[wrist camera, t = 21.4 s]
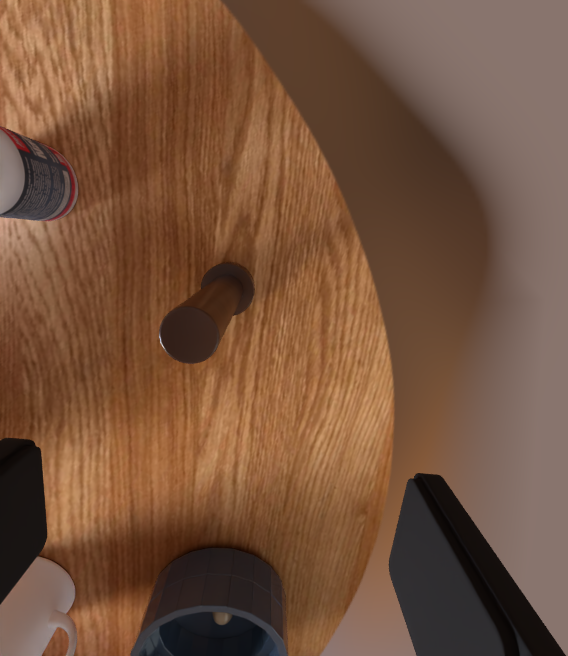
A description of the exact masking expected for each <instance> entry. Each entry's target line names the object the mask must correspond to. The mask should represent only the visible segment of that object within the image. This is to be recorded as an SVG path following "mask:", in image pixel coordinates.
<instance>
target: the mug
mask: <svg viewBox="0 0 568 656" xmlns="http://www.w3.org/2000/svg"><path fill="white" fill-rule="evenodd" d="M74 599H75V586H74V583H73V581H72V579H71V577H70V575H69V574H68V573H67V572H66V571H65V570H64V569H63V568H62V567H61V566H59V565H58V564H56V563H55V562H53V561H51V560H48V559H46V558H42V557H39V556H37V557H36V559H35V560H34V561H33V563H32V564H31V565H30V567H29V568H28V569H27V571H26V572H25V573H24V575H23V576H22V577H21V578H20V580H19V581H18V582H17V584H16V585H15V586H14V588H13V589H12V590H11V592H10V593H9V594H8V595H7V597H6V598H5V599H4V601H3V602H2V603H1V605H0V656H42V654H43V652H44V650H45V648H46V647H47V645H48V643H49V641H50V639H51V637H52V636H53V634H54V632H55V630H56V628H57V627H60V628H62V629H64V630H65V631H66V632H67V634H68V636H69V647H68V651H67V654H66V656H73V655H74V652H75V649H76V644H77V630H76V626H75V623H74V621H73V620H72V618H71V617H70V616H68V615H67V614H66V613H67V612H68V611H69V609H70V608H71V606H72V604H73V602H74Z"/></svg>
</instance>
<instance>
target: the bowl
mask: <svg viewBox="0 0 568 656" xmlns="http://www.w3.org/2000/svg"><path fill="white" fill-rule="evenodd" d="M213 612H224V613H229V614H232V618H231V619H230V621H229V622H228V623H227V624H225V625H219V624H217V623H216V622H215V621H214V619H213ZM131 656H288V635H287V613H286V595H285V591H284V587H283V584H282V580H281V579H280V578H279V576H278V575H277V574H276V572H275V571H274V570H273V568H272V567H271V566H270V565H268V564H267V563H265V562H264V561H262V560H261V559H259V558H258V557H256V556H254V555H252V554H249V553H246V552H243V551H240V550H236V549H232V548H207V549H202V550H197V551H192V552H190V553H188V554H186V555H184V556H182V557H180V558H178V559H176V560H174V561H173V562H171V563H170V564H169V565H168V566H167V567H166V568H165V569H164V570H163V571H162V572H161V573H160V574H159V575H158V578H157V580H156V582H155V584H154V586H153V589H152V591H151V594H150V597H149V600H148V603H147V606H146V609H145V612H144V615H143V618H142V621H141V624H140V627H139V630H138V633H137V636H136V639H135V642H134V645H133V648H132V651H131Z"/></svg>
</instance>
